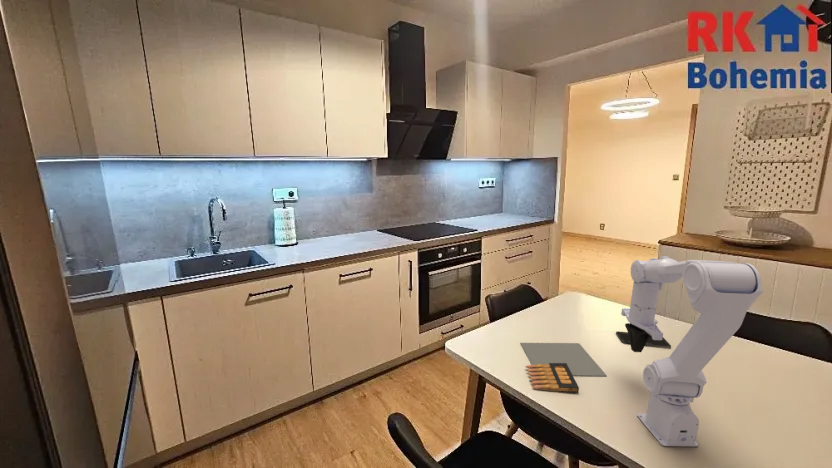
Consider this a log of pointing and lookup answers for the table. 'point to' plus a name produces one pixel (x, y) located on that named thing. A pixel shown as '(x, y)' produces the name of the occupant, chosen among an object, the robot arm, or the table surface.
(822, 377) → the table surface
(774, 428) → the table surface
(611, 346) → the table surface
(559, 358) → the mat
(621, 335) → the phone
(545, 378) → the ammunition clip
